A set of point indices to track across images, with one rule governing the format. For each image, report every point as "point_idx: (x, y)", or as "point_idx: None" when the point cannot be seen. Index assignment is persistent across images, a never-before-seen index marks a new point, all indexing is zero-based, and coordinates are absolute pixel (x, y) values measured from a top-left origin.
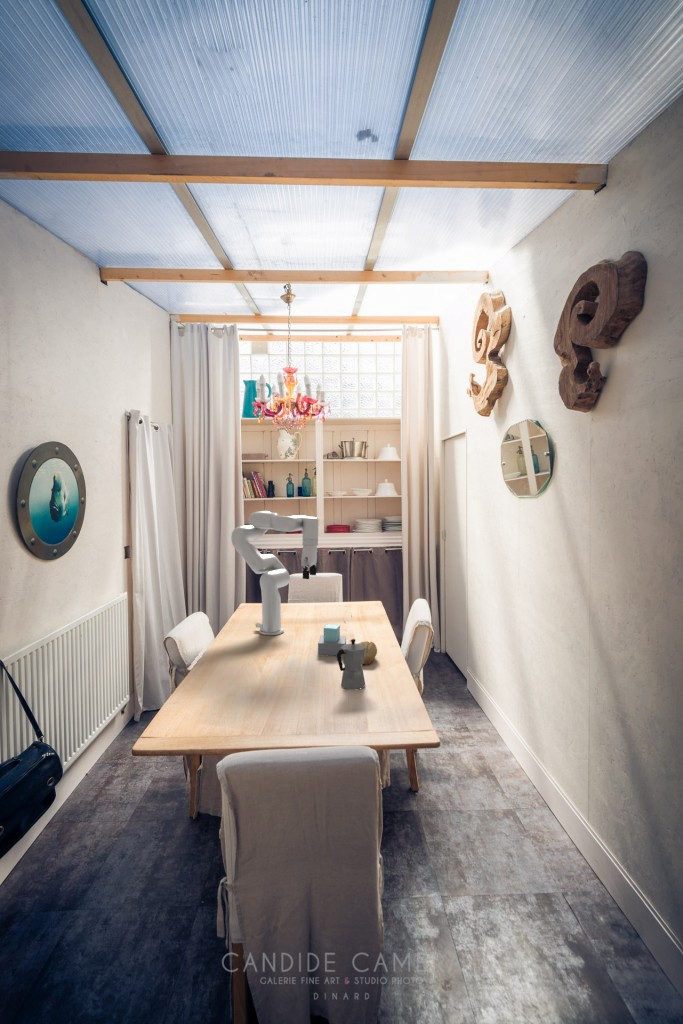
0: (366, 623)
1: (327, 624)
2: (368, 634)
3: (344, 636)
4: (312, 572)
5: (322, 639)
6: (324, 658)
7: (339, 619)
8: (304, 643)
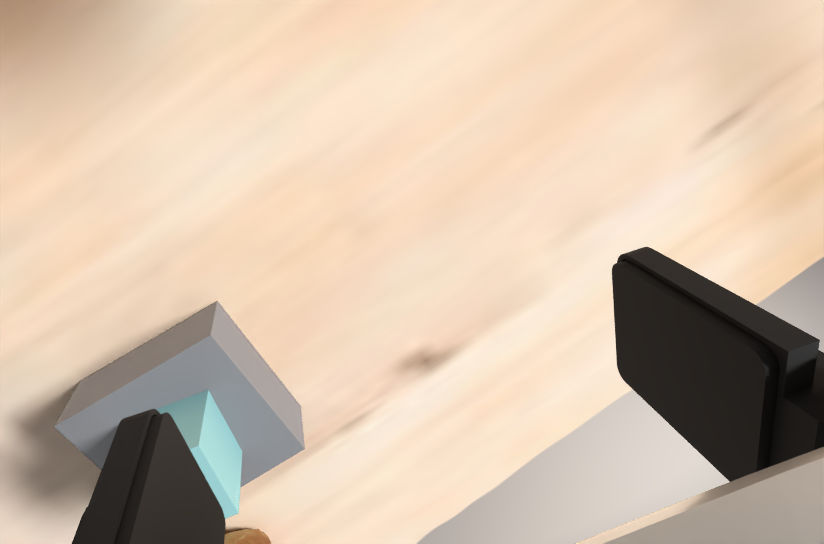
0: (727, 248)
1: (195, 449)
2: (551, 364)
3: (285, 451)
4: (653, 348)
5: (142, 399)
6: None
7: (767, 60)
8: (212, 175)
